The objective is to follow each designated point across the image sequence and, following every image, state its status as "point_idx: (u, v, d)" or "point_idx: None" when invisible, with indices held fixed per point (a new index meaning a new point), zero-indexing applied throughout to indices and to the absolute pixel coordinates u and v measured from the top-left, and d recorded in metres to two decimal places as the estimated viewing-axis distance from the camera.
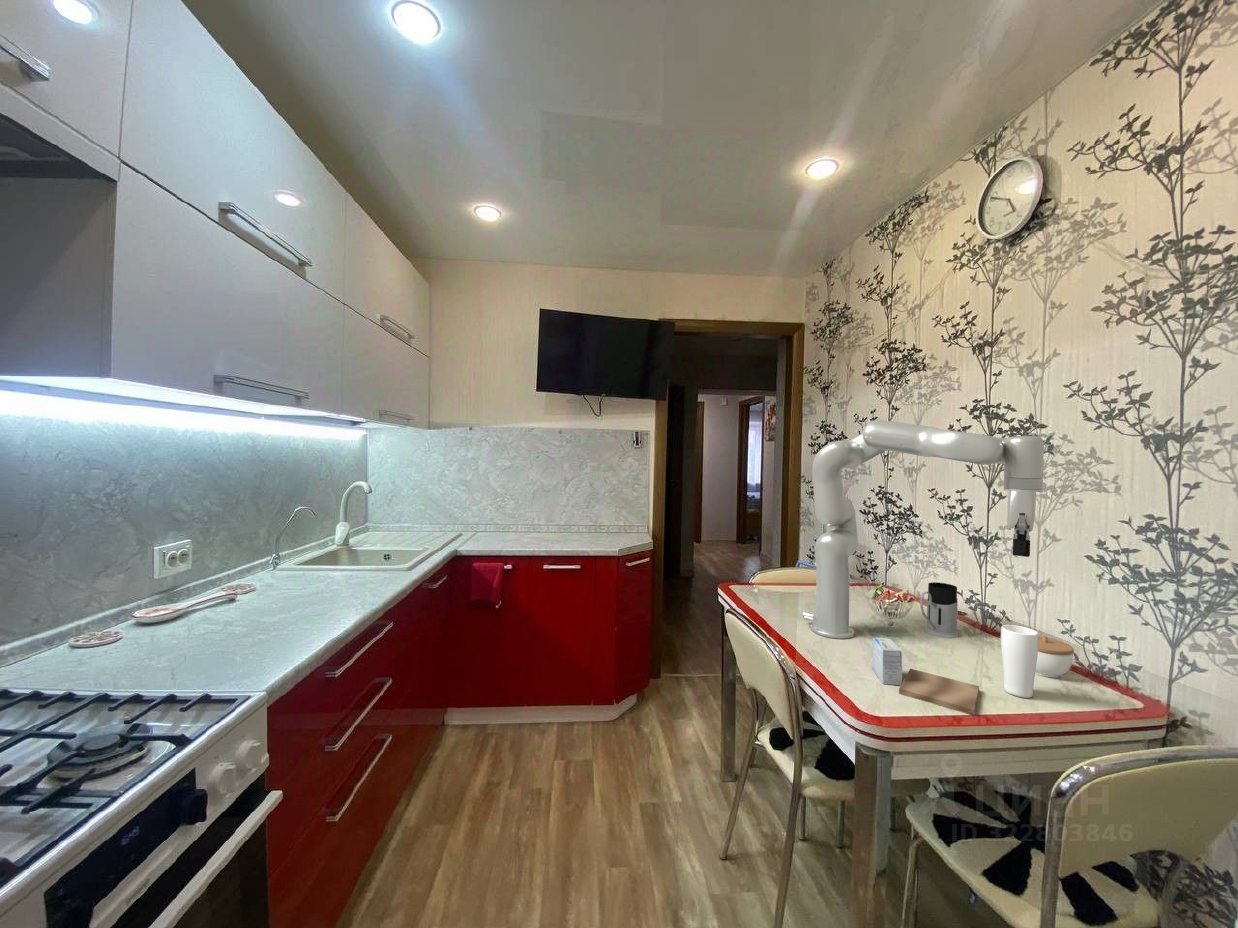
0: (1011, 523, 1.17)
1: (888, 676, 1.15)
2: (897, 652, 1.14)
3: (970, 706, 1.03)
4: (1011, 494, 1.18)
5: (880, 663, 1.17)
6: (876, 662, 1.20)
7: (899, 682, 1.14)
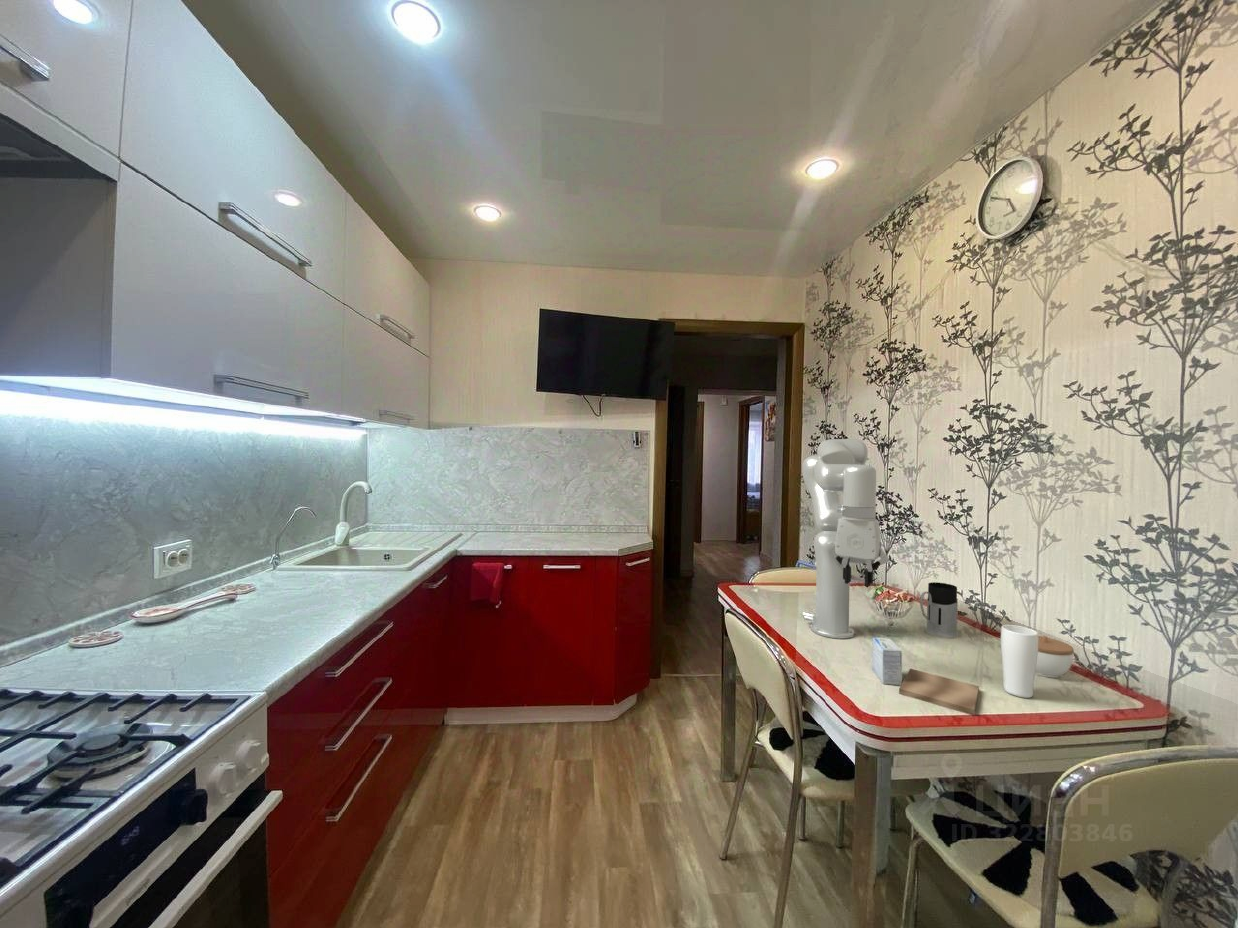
0: (878, 553, 1.18)
1: (888, 676, 1.15)
2: (897, 652, 1.14)
3: (970, 706, 1.03)
4: (874, 524, 1.18)
5: (880, 663, 1.17)
6: (876, 662, 1.20)
7: (899, 682, 1.14)
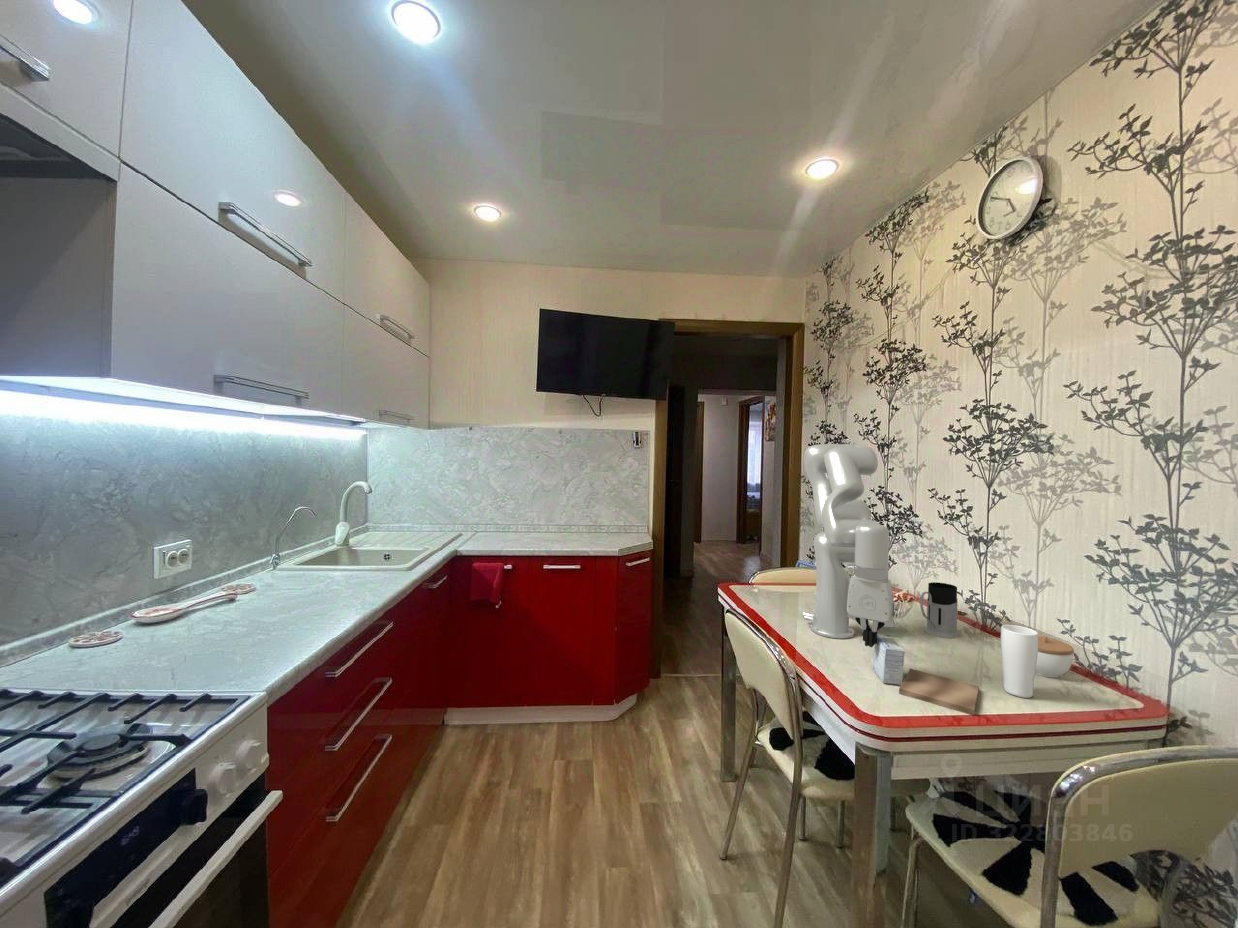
0: (891, 616, 1.16)
1: (888, 675, 1.15)
2: (900, 652, 1.14)
3: (970, 706, 1.03)
4: (887, 586, 1.16)
5: (881, 662, 1.17)
6: (877, 661, 1.20)
7: (900, 681, 1.14)
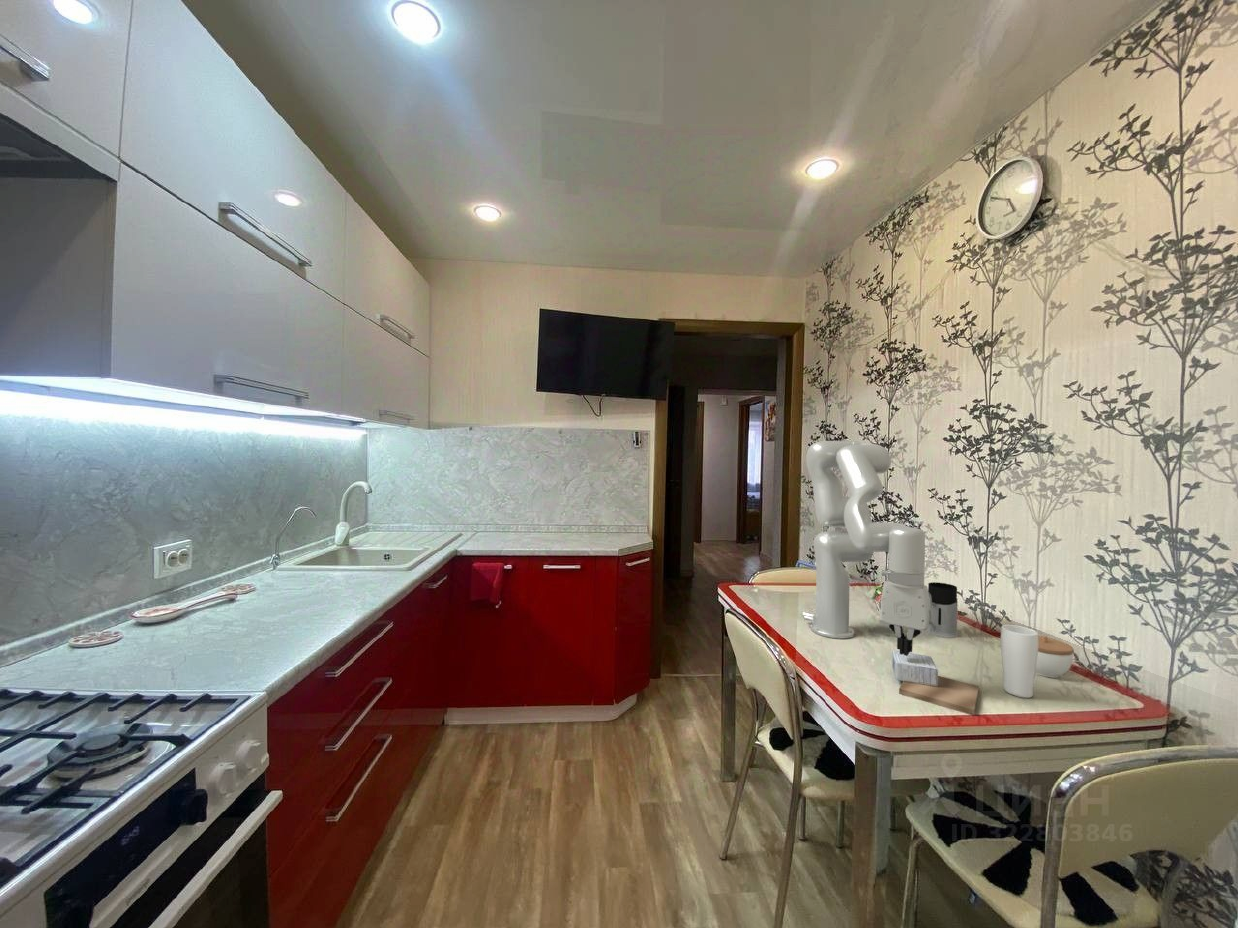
0: (928, 623, 1.11)
1: (905, 668, 1.14)
2: (935, 681, 1.11)
3: (970, 706, 1.03)
4: (924, 592, 1.11)
5: (915, 662, 1.15)
6: (908, 656, 1.18)
7: (900, 678, 1.14)
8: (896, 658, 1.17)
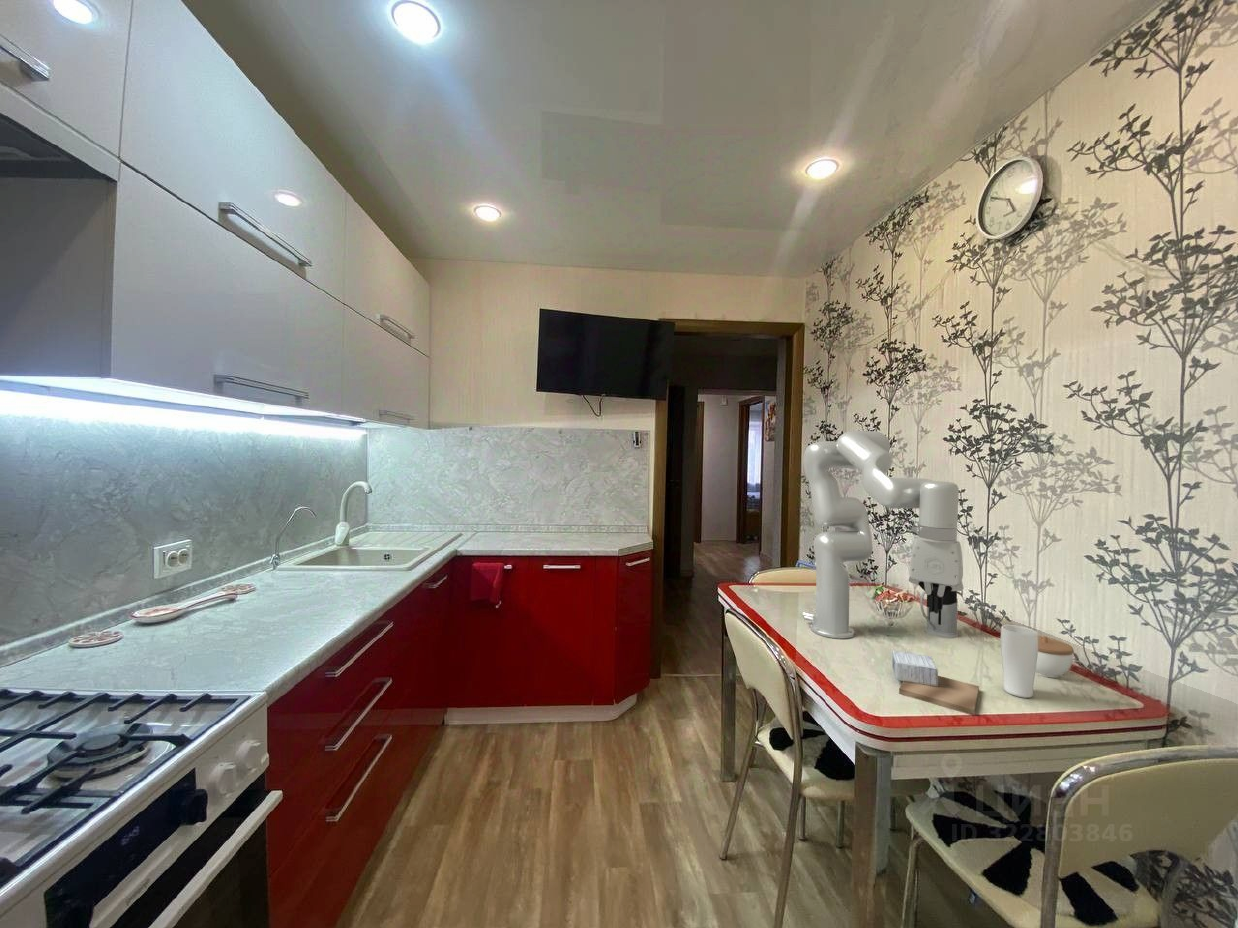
0: (961, 579, 1.07)
1: (905, 668, 1.14)
2: (935, 681, 1.11)
3: (970, 706, 1.03)
4: (957, 547, 1.07)
5: (915, 662, 1.15)
6: (908, 656, 1.18)
7: (900, 678, 1.14)
8: (896, 658, 1.17)
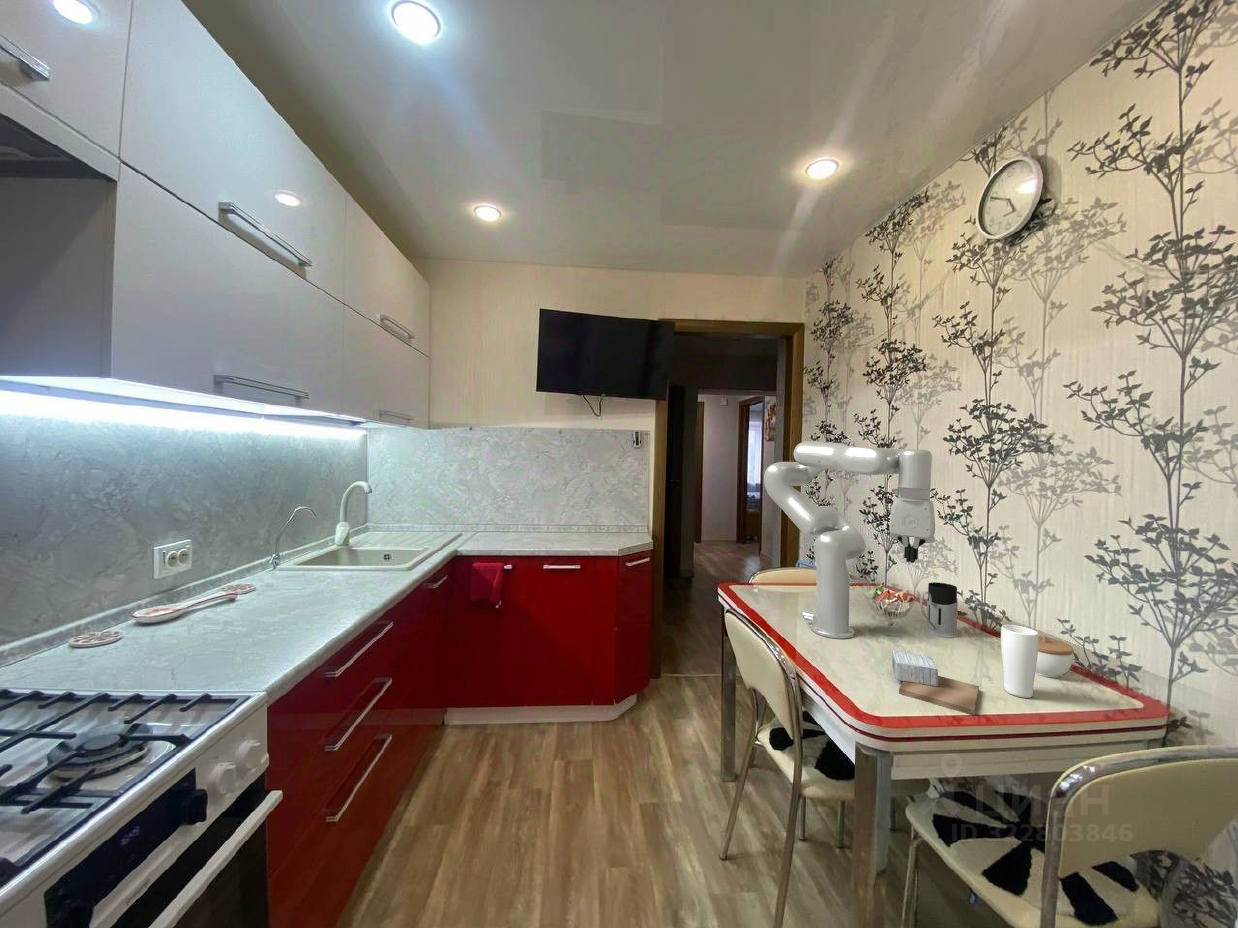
0: (932, 532, 1.25)
1: (905, 668, 1.14)
2: (935, 681, 1.11)
3: (970, 706, 1.03)
4: (929, 504, 1.25)
5: (915, 662, 1.15)
6: (908, 656, 1.18)
7: (900, 678, 1.14)
8: (896, 658, 1.17)
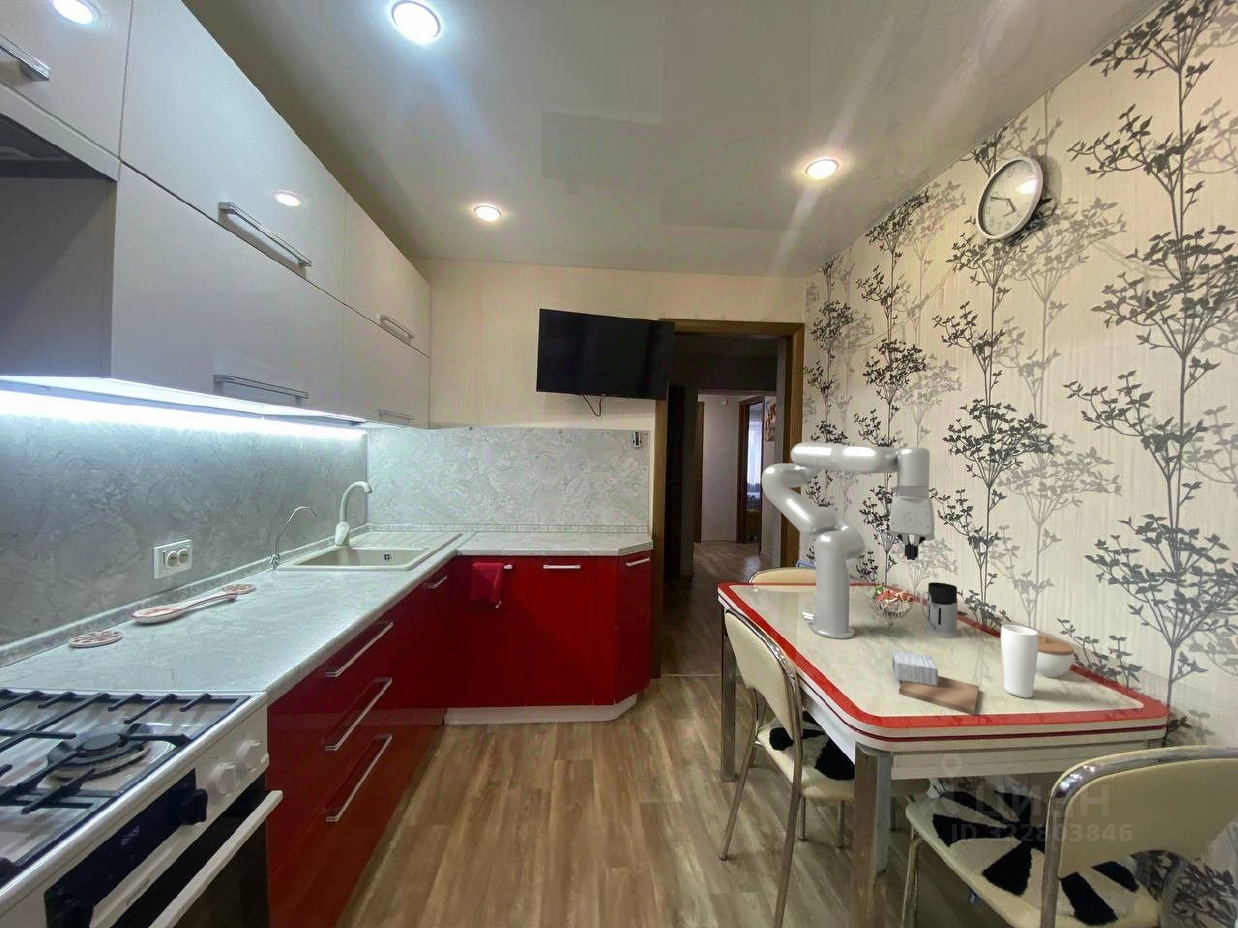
0: (932, 529, 1.26)
1: (905, 668, 1.14)
2: (935, 681, 1.11)
3: (970, 706, 1.03)
4: (929, 502, 1.26)
5: (915, 662, 1.15)
6: (908, 656, 1.18)
7: (900, 678, 1.14)
8: (896, 658, 1.17)
